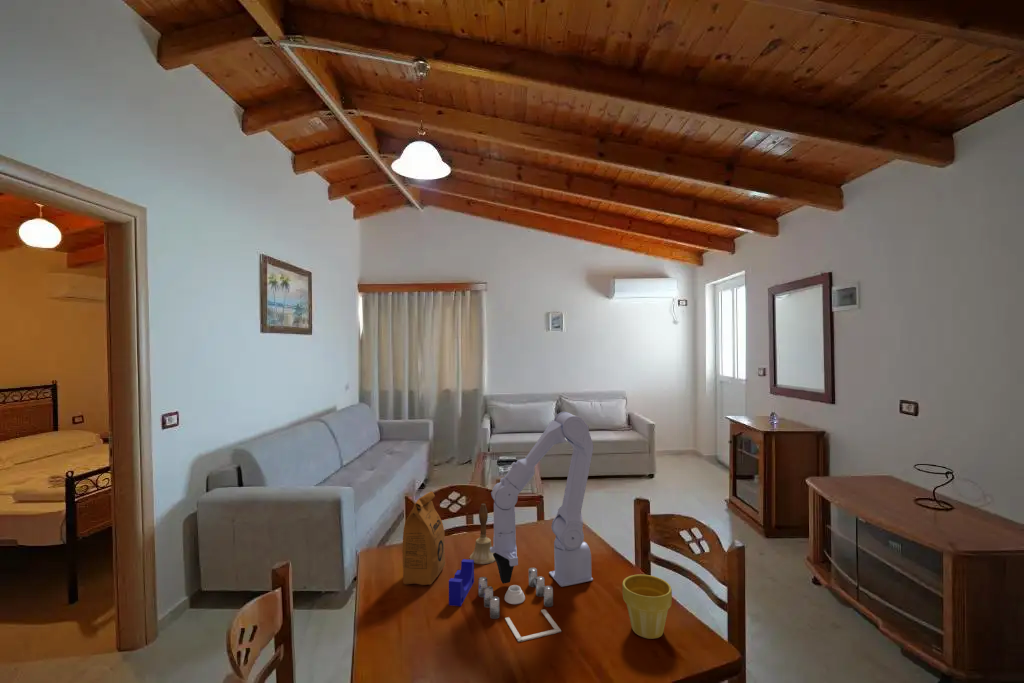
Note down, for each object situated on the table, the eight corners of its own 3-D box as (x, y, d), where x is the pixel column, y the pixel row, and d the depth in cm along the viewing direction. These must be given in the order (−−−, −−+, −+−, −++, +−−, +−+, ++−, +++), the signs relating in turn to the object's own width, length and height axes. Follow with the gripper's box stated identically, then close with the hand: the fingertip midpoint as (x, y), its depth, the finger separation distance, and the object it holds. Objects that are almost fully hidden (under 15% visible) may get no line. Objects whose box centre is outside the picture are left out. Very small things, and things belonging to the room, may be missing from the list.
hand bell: (481, 549, 145) (480, 498, 145) (503, 556, 140) (502, 502, 141) (463, 560, 139) (462, 505, 139) (485, 567, 134) (484, 511, 134)
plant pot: (652, 612, 110) (651, 570, 110) (683, 637, 100) (682, 591, 100) (614, 622, 106) (613, 578, 106) (642, 649, 96) (641, 601, 97)
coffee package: (451, 568, 133) (449, 490, 134) (431, 590, 121) (430, 505, 122) (419, 564, 136) (418, 488, 136) (397, 585, 124) (396, 502, 124)
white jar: (524, 594, 119) (505, 594, 119) (524, 583, 119) (504, 583, 119) (524, 605, 114) (504, 605, 114) (524, 593, 114) (503, 593, 114)
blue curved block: (457, 581, 126) (457, 558, 126) (474, 582, 126) (473, 559, 126) (443, 605, 115) (442, 580, 115) (460, 607, 114) (460, 582, 114)
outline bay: (544, 610, 111) (544, 609, 111) (561, 631, 103) (561, 630, 103) (504, 619, 108) (504, 617, 108) (518, 642, 99) (518, 640, 99)
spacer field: (535, 582, 125) (535, 567, 125) (554, 605, 113) (554, 589, 113) (477, 593, 119) (477, 577, 119) (491, 619, 108) (491, 602, 108)
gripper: (482, 522, 129) (483, 572, 129) (498, 542, 115) (499, 598, 115) (506, 518, 131) (507, 567, 131) (525, 538, 117) (526, 593, 117)
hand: (505, 581), depth 123 cm, fingers closed
